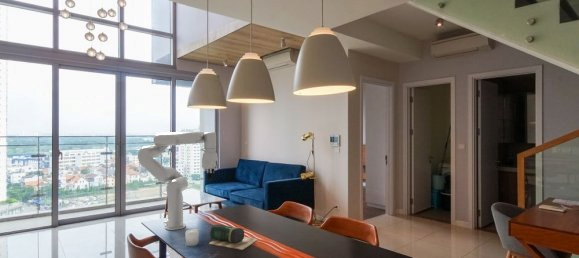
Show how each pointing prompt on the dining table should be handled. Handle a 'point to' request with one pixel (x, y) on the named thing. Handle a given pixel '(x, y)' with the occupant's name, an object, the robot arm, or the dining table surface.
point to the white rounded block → (191, 237)
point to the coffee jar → (227, 233)
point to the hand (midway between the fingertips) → (210, 178)
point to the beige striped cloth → (240, 245)
